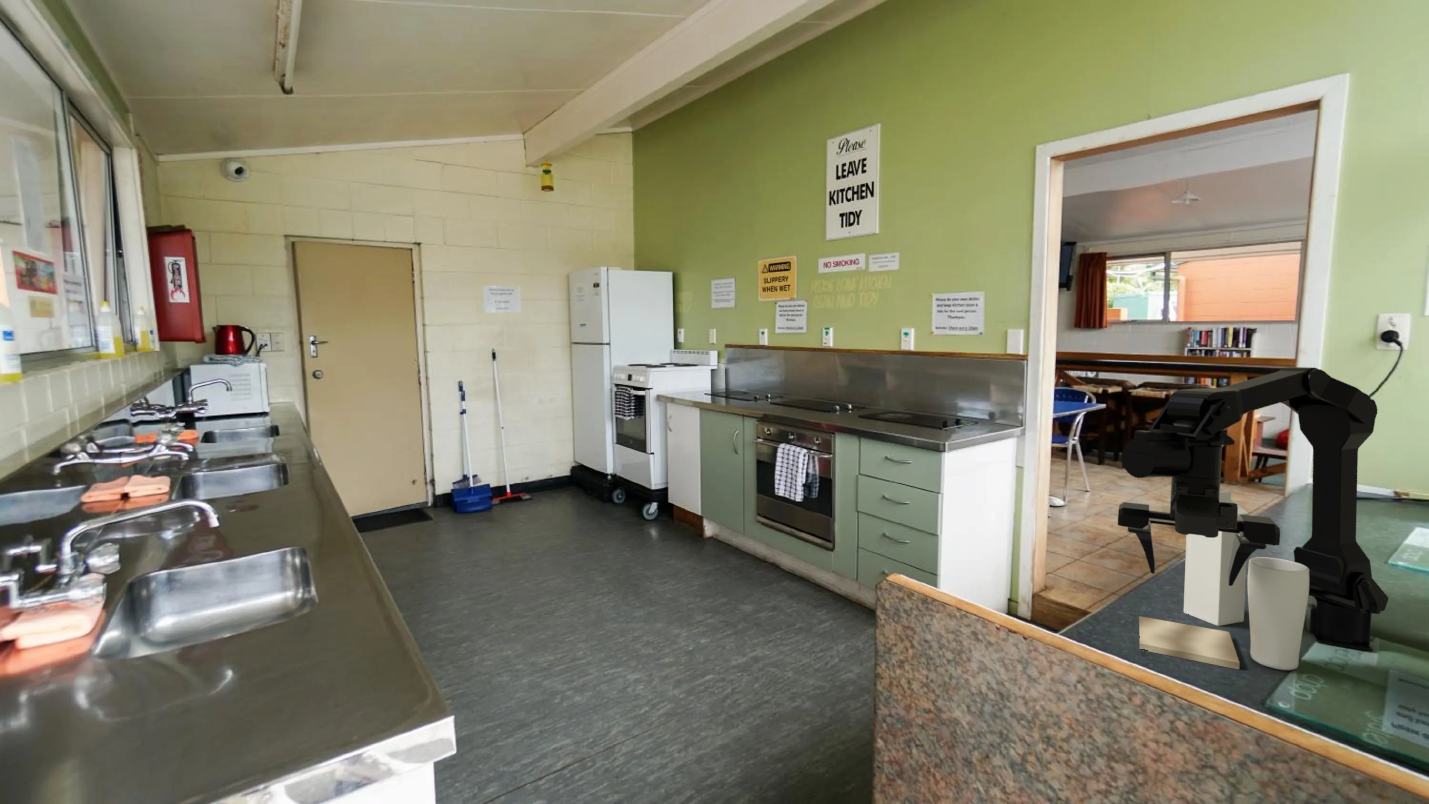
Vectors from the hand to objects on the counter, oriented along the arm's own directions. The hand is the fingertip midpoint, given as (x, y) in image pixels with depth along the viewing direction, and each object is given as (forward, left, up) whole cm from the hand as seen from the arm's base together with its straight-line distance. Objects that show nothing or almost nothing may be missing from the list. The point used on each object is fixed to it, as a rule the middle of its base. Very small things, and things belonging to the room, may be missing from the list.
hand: (1190, 578), depth 94 cm
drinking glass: (-11, -5, -13) cm, 17 cm away
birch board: (0, -6, -12) cm, 14 cm away
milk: (-5, -21, -13) cm, 25 cm away
